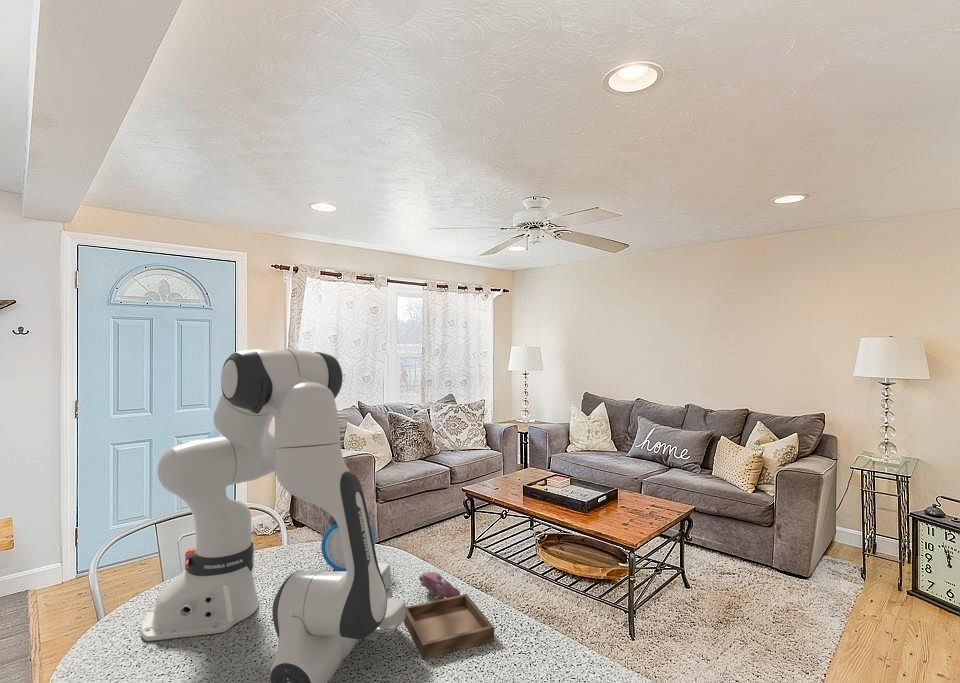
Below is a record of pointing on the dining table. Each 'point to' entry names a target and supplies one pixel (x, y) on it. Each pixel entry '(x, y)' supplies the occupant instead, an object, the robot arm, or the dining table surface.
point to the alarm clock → (335, 545)
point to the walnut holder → (447, 626)
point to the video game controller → (438, 585)
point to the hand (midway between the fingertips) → (369, 591)
